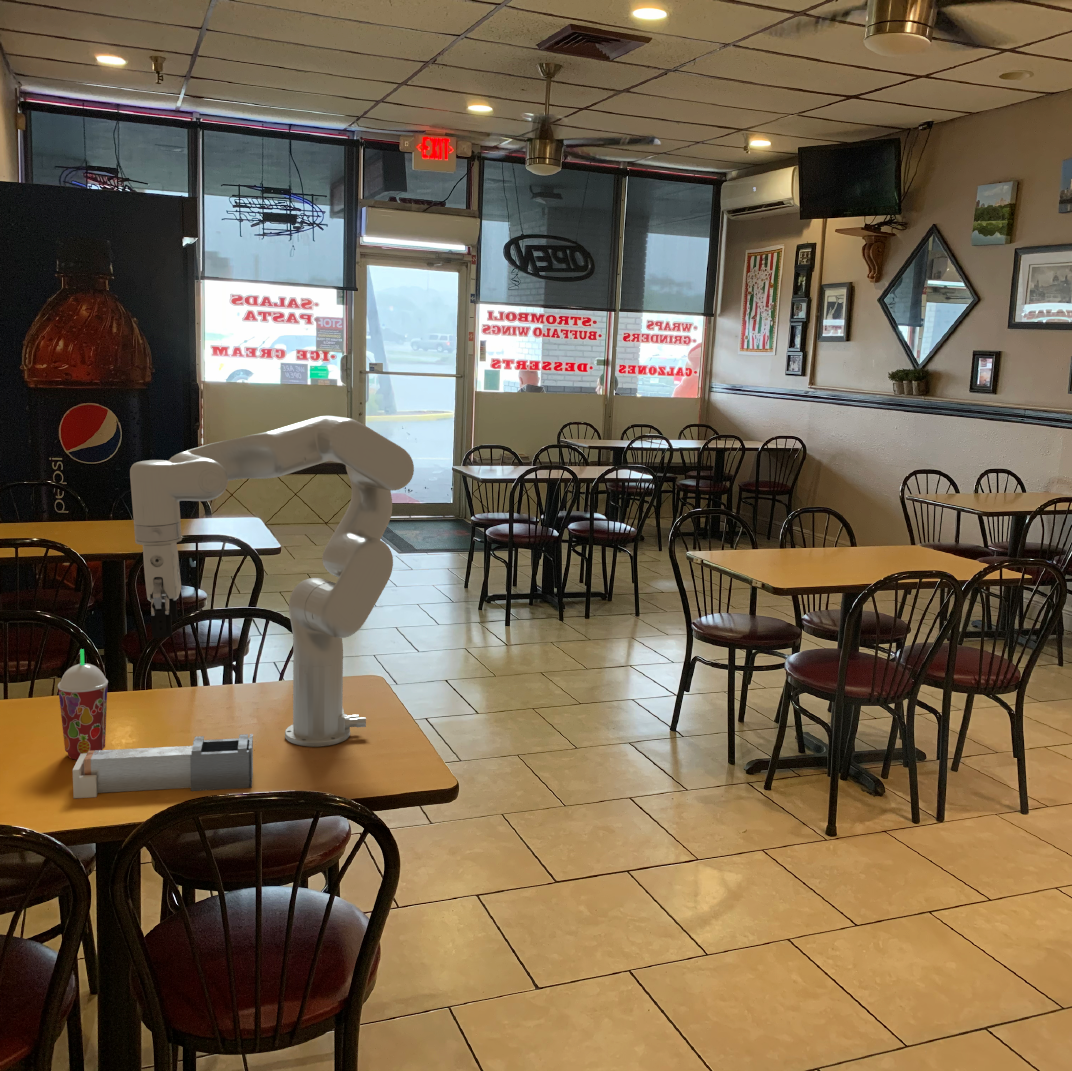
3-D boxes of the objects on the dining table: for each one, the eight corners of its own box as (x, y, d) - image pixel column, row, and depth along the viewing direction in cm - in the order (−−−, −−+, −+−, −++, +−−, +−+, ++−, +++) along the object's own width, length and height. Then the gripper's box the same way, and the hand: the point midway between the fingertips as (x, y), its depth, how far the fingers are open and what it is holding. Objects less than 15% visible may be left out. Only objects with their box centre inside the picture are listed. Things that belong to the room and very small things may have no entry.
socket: (103, 779, 177) (102, 752, 176) (96, 796, 170) (95, 768, 170) (81, 780, 176) (80, 753, 176) (73, 798, 170) (72, 769, 169)
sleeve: (252, 772, 183) (252, 733, 182) (251, 787, 177) (251, 747, 175) (194, 775, 181) (193, 736, 180) (190, 791, 174) (190, 750, 173)
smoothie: (116, 746, 192) (114, 644, 189) (99, 763, 184) (96, 656, 181) (71, 745, 192) (68, 642, 189) (52, 762, 184) (48, 655, 180)
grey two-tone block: (196, 778, 179) (196, 745, 178) (194, 787, 176) (194, 754, 175) (89, 783, 175) (88, 750, 174) (85, 793, 171) (84, 759, 170)
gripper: (176, 541, 167) (183, 641, 171) (185, 522, 184) (191, 614, 187) (128, 544, 166) (136, 645, 169) (141, 524, 182) (148, 617, 185)
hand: (165, 628), depth 178 cm, fingers open, 9 cm apart
